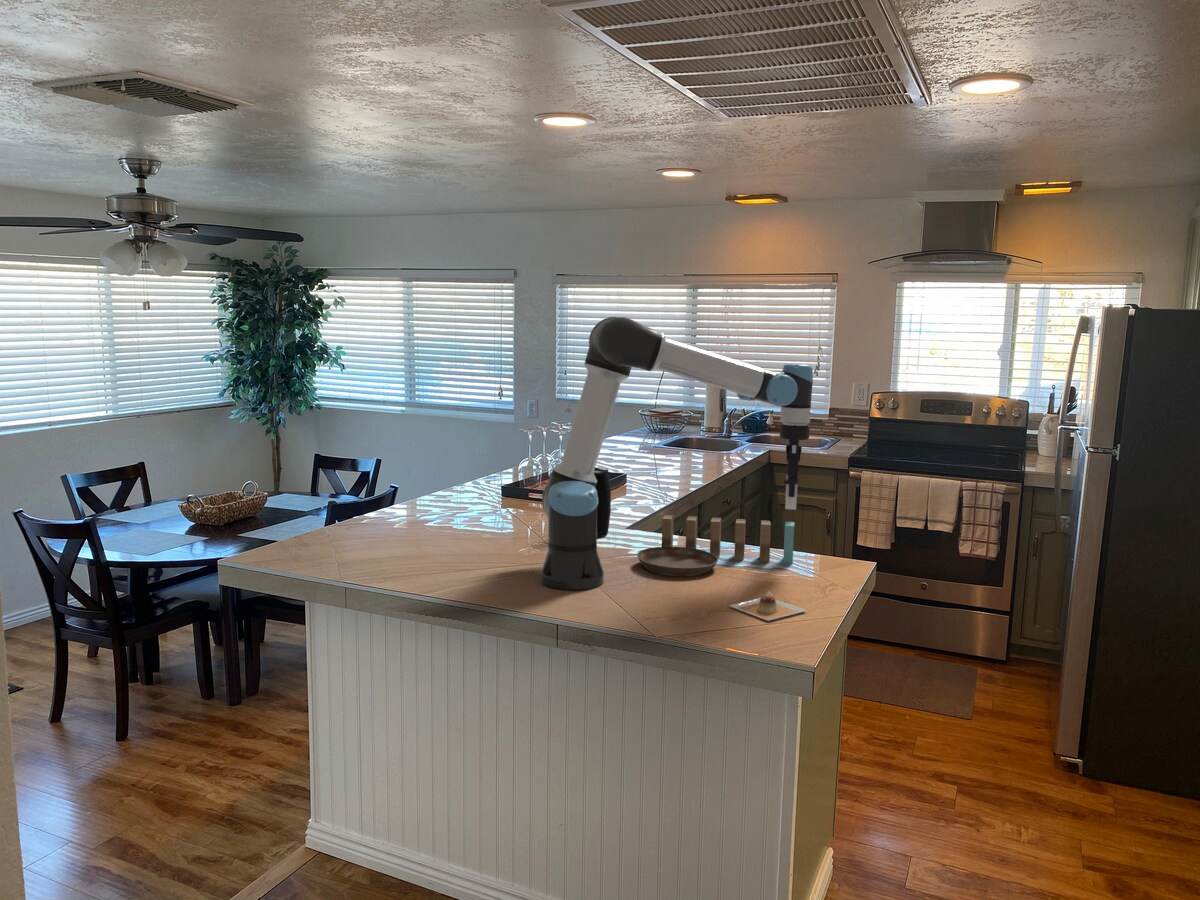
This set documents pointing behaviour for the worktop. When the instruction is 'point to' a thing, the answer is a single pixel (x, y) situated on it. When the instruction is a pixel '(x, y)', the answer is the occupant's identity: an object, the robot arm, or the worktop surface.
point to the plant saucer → (677, 561)
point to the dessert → (767, 606)
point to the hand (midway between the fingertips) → (790, 504)
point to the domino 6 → (788, 542)
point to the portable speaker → (603, 501)
